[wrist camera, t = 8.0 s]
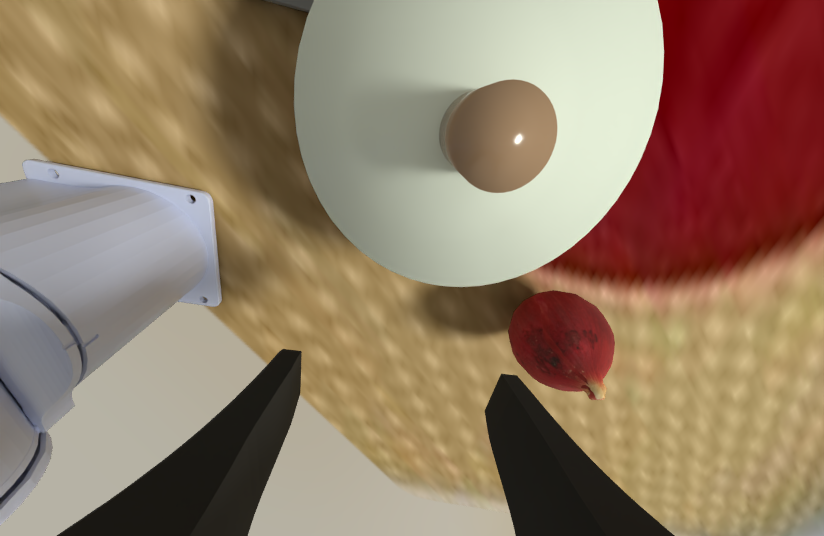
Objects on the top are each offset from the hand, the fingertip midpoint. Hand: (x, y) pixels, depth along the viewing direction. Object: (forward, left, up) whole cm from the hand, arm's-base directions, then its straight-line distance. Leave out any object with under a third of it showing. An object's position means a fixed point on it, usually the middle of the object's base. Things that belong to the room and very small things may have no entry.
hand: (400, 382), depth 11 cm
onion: (+10, -2, -11) cm, 15 cm away
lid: (+1, +8, -6) cm, 10 cm away
